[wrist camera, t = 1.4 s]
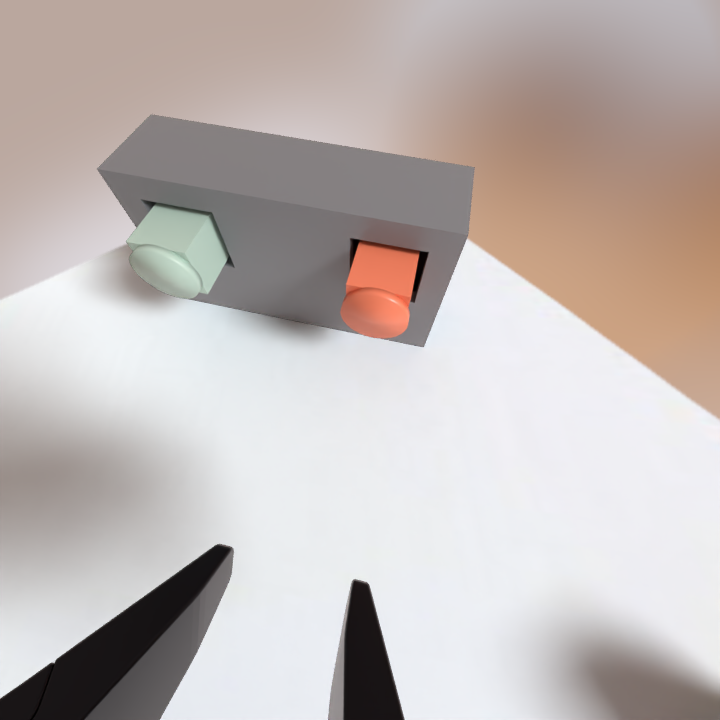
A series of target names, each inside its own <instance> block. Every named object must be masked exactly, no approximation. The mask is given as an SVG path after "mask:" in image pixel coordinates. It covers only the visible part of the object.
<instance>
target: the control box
mask: <svg viewBox="0 0 720 720" xmlns="http://www.w3.org/2000/svg"><path fill="white" fill-rule="evenodd" d="M97 170H98V171H99V173H100V174H101V176H102V177H103V178H104V180H105V182H106V183H107V185H108V186H109V187H110V189H111V190H112V192H113V193H114V195H115V196H116V198H117V199H118V200H119V202H120V204H121V205H122V207H123V208H124V210H125V211H126V213H127V214H128V216H129V217H130V219H131V220H132V222H133V223H134V224H135V226H136V227H138V225H139V224H140V223H141V222H142V220H143V219H144V218H145V217H146V215H147V214H148V213H149V212H150V210H151V209H152V208H153V206H154V205H155V204H156V203H157V202H158V203H163V204H168V205H174V206H179V207H185V208H190V209H196V210H201V211H207V212H212V213H213V216H214V218H215V221H216V223H217V226H218V228H219V230H220V233H221V235H222V238H223V240H224V242H225V245H226V247H227V250H228V252H229V255H230V256H229V257H228V259H227V261H226V263H225V265H224V266H223V268H222V270H221V272H220V274H219V275H218V277H217V279H216V281H215V282H214V284H213V286H212V288H211V290H210V291H209V293H208V294H205V293H200V292H199V293H198V295H197V296H196V297H194V298H190V299H191V300H196V301H201V302H205V303H210V304H215V305H220V306H225V307H230V308H235V309H240V310H244V311H249V312H254V313H259V314H264V315H269V316H274V317H279V318H284V319H288V320H293V321H298V322H303V323H308V324H313V325H318V326H323V327H327V328H332V329H337V330H342V331H347V332H352V333H357V334H360V333H358V332H356V331H354V330H353V329H351V328H350V327H349V326H347V325H346V323H345V322H344V321H343V319H342V317H341V313H340V311H341V307H342V303H343V300H344V298H345V296H346V283H347V280H348V277H349V273H350V270H351V267H352V264H353V261H354V257H355V254H356V251H357V248H358V245H359V241H360V240H364V241H370V242H375V243H381V244H386V245H392V246H397V247H403V248H408V249H413V250H419V251H420V253H419V258H418V263H417V269H416V274H415V279H414V285H413V290H412V295H411V300H410V303H409V307H408V308H409V311H410V317H409V322H408V327H407V329H406V330H405V331H404V332H403V333H402V334H400V335H398V336H396V337H392V338H381V339H386V340H391V341H396V342H401V343H406V344H410V345H415V346H420V347H424V345H425V343H426V340H427V337H428V335H429V332H430V330H431V327H432V325H433V322H434V320H435V317H436V315H437V312H438V310H439V307H440V305H441V302H442V300H443V297H444V295H445V292H446V290H447V287H448V285H449V282H450V280H451V277H452V274H453V272H454V269H455V267H456V264H457V262H458V259H459V257H460V254H461V252H462V249H463V247H464V244H465V242H466V239H467V237H468V231H469V221H470V210H471V199H472V189H473V178H474V167H469V166H463V165H457V164H451V163H445V162H439V161H433V160H427V159H421V158H415V157H408V156H402V155H395V154H390V153H383V152H378V151H372V150H366V149H360V148H353V147H347V146H341V145H335V144H328V143H323V142H317V141H311V140H304V139H298V138H292V137H285V136H280V135H274V134H268V133H262V132H255V131H249V130H243V129H236V128H231V127H225V126H219V125H213V124H206V123H200V122H194V121H188V120H182V119H176V118H170V117H164V116H157V115H150V116H149V117H148V118H147V119H146V120H145V121H144V122H143V123H142V124H141V125H140V126H139V127H138V128H137V129H136V130H135V131H134V132H133V133H132V134H131V135H130V136H129V137H128V138H127V139H126V140H125V141H124V142H123V143H122V144H121V145H120V146H119V147H118V148H117V149H116V150H115V151H114V152H113V153H112V154H111V155H110V156H109V157H108V158H107V159H106V160H105V161H104V162H103V163H102V164H101V165H100V166H99V167H98V168H97Z"/></svg>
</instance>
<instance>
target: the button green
mask: <svg viewBox="0 0 720 720" xmlns="http://www.w3.org/2000/svg"><path fill="white" fill-rule="evenodd" d="M126 243H127V244H128V245H129V247H130V248H131V249H132V251H133V252H132V254H131V255H130V257H129V261H130V264H131V266H132V268H133V269H134V271H135V272H136V273H137V274H138V275H139V276H140V277H141V278H142V279H143V280H144V281H146V282H147V283H148V284H150V285H151V286H153V287H154V288H156V289H158V290H160V291H162V292H164V293H166V294H168V295H171V296H174V297H178V298H184V299H190V298H194V297H196V296H197V295H198V293H199V292H200V293H205V294H208V293H209V291H210V290H211V288H212V286H213V284H214V282H215V281H216V279H217V277H218V275H219V274H220V272H221V270H222V268H223V266H224V265H225V263H226V261H227V259H228V257H229V256H230V255H229V252H228V250H227V247H226V245H225V242H224V240H223V238H222V235H221V233H220V230H219V228H218V226H217V223H216V221H215V218H214V216H213V213H212V212H207V211H201V210H196V209H190V208H185V207H179V206H174V205H168V204H163V203H158V202H157V203H156V204H155V205H154V206H153V208H152V209H151V210H150V212H149V213H148V214H147V215H146V217H145V218H144V219H143V220H142V222H141V223H140V224H139V225H138V227H137V228H136V229H135V231H134V232H133V233H132V234H131V236H130V237H129V238H128V240H127V241H126Z"/></svg>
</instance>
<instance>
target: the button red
mask: <svg viewBox="0 0 720 720" xmlns="http://www.w3.org/2000/svg"><path fill="white" fill-rule="evenodd" d="M419 253H420V251H419V250H413V249H408V248H403V247H397V246H392V245H386V244H381V243H375V242H370V241H364V240H360V241H359V245H358V248H357V251H356V254H355V257H354V261H353V264H352V267H351V270H350V273H349V277H348V280H347V283H346V296H345V298H344V300H343V303H342V307H341V311H340V313H341V317H342V319H343V321H344V322H345V323H346V325H347V326H349V327H350V328H351V329H353V330H354V331H356V332H358V333H360V334H362V335H365V336H369V337H373V338H392V337H396V336H398V335H400V334H402V333H403V332H404V331H405V330H406V329H407V327H408V322H409V317H410V311H409V308H408V307H409V303H410V300H411V295H412V290H413V285H414V279H415V274H416V269H417V263H418V258H419Z"/></svg>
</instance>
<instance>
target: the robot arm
mask: <svg viewBox="0 0 720 720" xmlns="http://www.w3.org/2000/svg"><path fill="white" fill-rule="evenodd" d="M233 554H234V550H233V548H232V547H230V546H226V545H223V544H217V545H215V546H214V547H212V548H211V549H210V550H208V551H207V552H205V553H204V554H203V555H201V556H200V557H198V558H197V559H196V560H194V561H193V562H191V563H190V564H189V565H187V566H186V567H184V568H183V569H182V570H180V571H179V572H177V573H176V574H175V575H173V576H172V577H170V578H169V579H168V580H166V581H165V582H163V583H162V584H161V585H159V586H158V587H156V588H155V589H154V590H152V591H151V592H150V593H148V594H147V595H145V596H144V597H143V598H141V599H140V600H138V601H137V602H136V603H134V604H133V605H131V606H130V607H129V608H127V609H126V610H124V611H123V612H122V613H120V614H119V615H117V616H116V617H115V618H113V619H112V620H110V621H109V622H108V623H106V624H105V625H103V626H102V627H101V628H99V629H98V630H96V631H95V632H94V633H92V634H91V635H89V636H88V637H87V638H85V639H84V640H82V641H81V642H80V643H78V644H77V645H75V646H74V647H73V648H71V649H70V650H69V651H67V652H66V653H64V654H63V655H62V656H60V657H59V658H57V659H56V661H55V663H50V664H49V665H47V666H46V667H45V668H43V669H42V670H40V671H39V672H38V673H36V674H35V675H33V676H32V677H31V678H29V679H28V680H26V681H25V682H23V683H22V684H21V685H19V686H18V687H16V688H15V689H13V690H12V691H10V692H9V693H8V694H6V695H5V696H3V697H2V698H0V720H160V718H161V716H162V715H163V713H164V711H165V709H166V707H167V706H168V704H169V702H170V700H171V698H172V697H173V695H174V693H175V691H176V689H177V688H178V686H179V684H180V682H181V681H182V679H183V677H184V675H185V673H186V672H187V670H188V668H189V666H190V664H191V663H192V661H193V659H194V657H195V655H196V653H197V651H198V649H199V647H200V645H201V643H202V640H203V638H204V636H205V634H206V632H207V629H208V627H209V625H210V623H211V621H212V618H213V616H214V614H215V612H216V609H217V607H218V605H219V603H220V600H221V598H222V596H223V594H224V592H225V589H226V587H227V585H228V583H229V580H230V577H231V574H232V566H233ZM328 720H405V719H404V716H403V712H402V708H401V704H400V700H399V696H398V693H397V689H396V685H395V681H394V677H393V673H392V670H391V666H390V662H389V658H388V654H387V651H386V647H385V643H384V639H383V635H382V631H381V628H380V624H379V620H378V616H377V612H376V608H375V605H374V601H373V597H372V593H371V589H370V586H369V584H368V583H367V582H364V581H360V580H356V579H354V580H353V581H352V583H351V587H350V592H349V596H348V601H347V605H346V610H345V615H344V621H343V626H342V631H341V637H340V642H339V648H338V653H337V659H336V664H335V669H334V675H333V681H332V687H331V695H330V704H329V715H328Z"/></svg>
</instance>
